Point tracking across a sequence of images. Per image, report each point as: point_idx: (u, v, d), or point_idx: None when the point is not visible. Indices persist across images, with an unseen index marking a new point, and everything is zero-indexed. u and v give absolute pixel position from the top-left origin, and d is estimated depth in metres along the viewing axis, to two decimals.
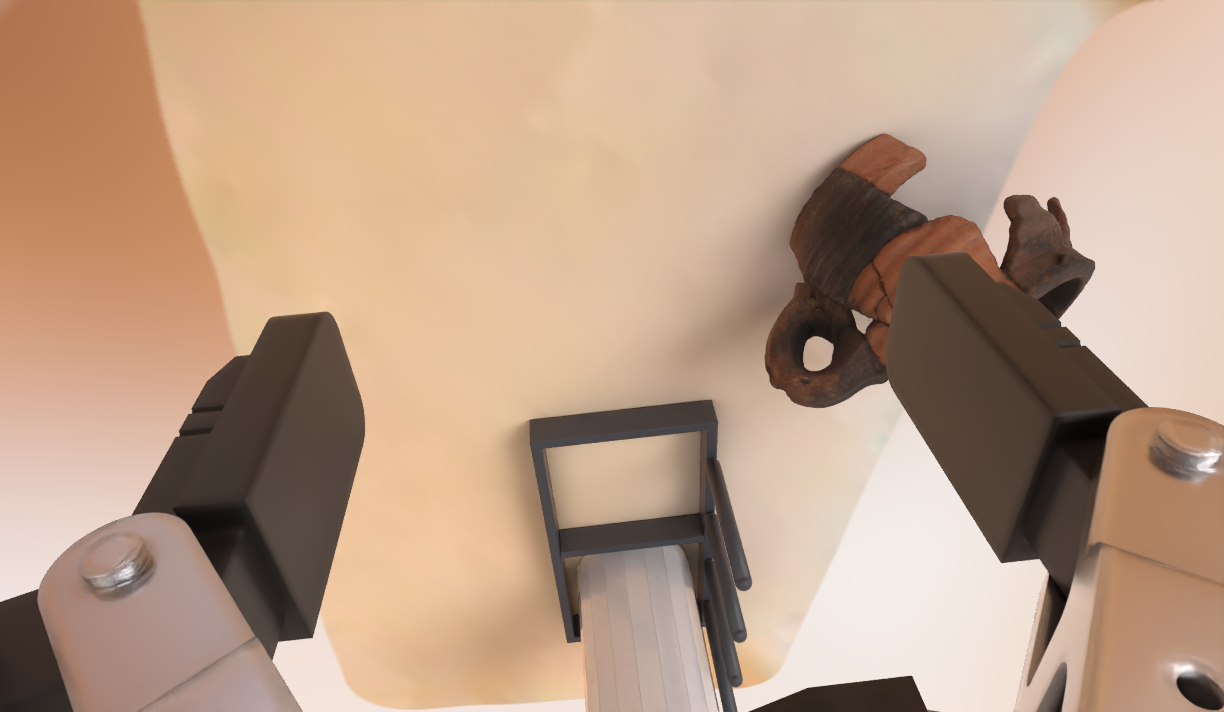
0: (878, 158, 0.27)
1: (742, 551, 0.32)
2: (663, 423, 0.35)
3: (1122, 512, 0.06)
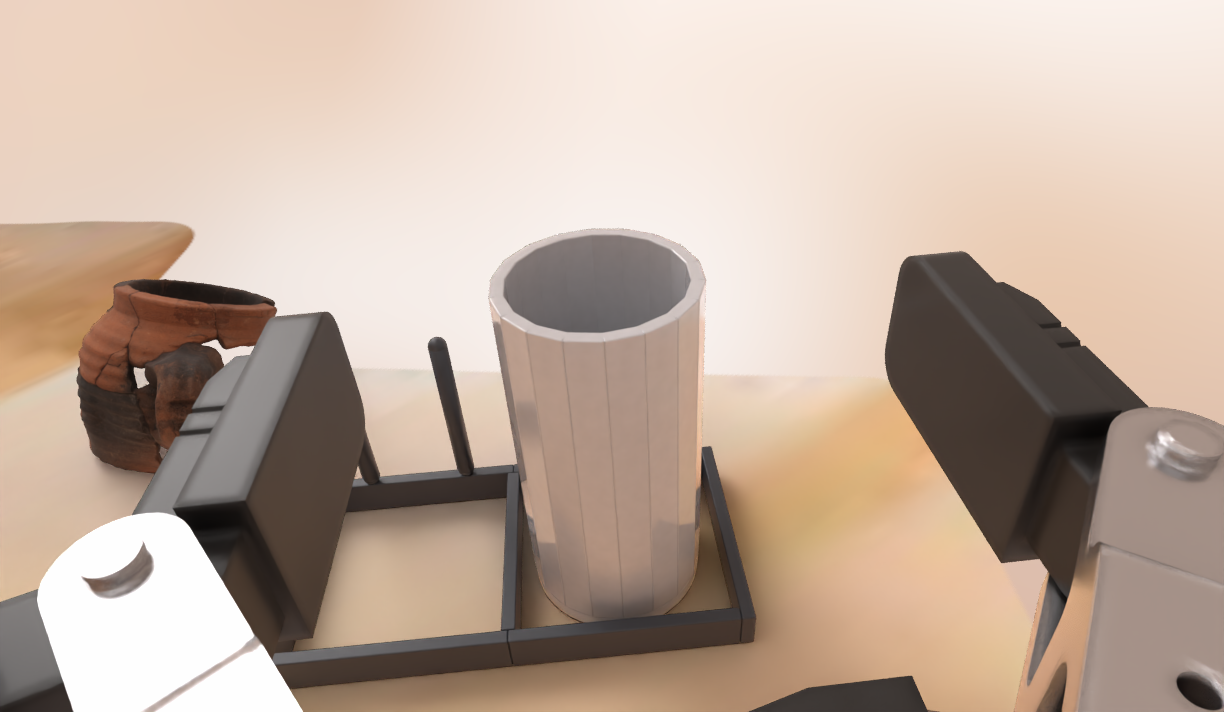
0: None
1: None
2: None
3: (1123, 512, 0.06)
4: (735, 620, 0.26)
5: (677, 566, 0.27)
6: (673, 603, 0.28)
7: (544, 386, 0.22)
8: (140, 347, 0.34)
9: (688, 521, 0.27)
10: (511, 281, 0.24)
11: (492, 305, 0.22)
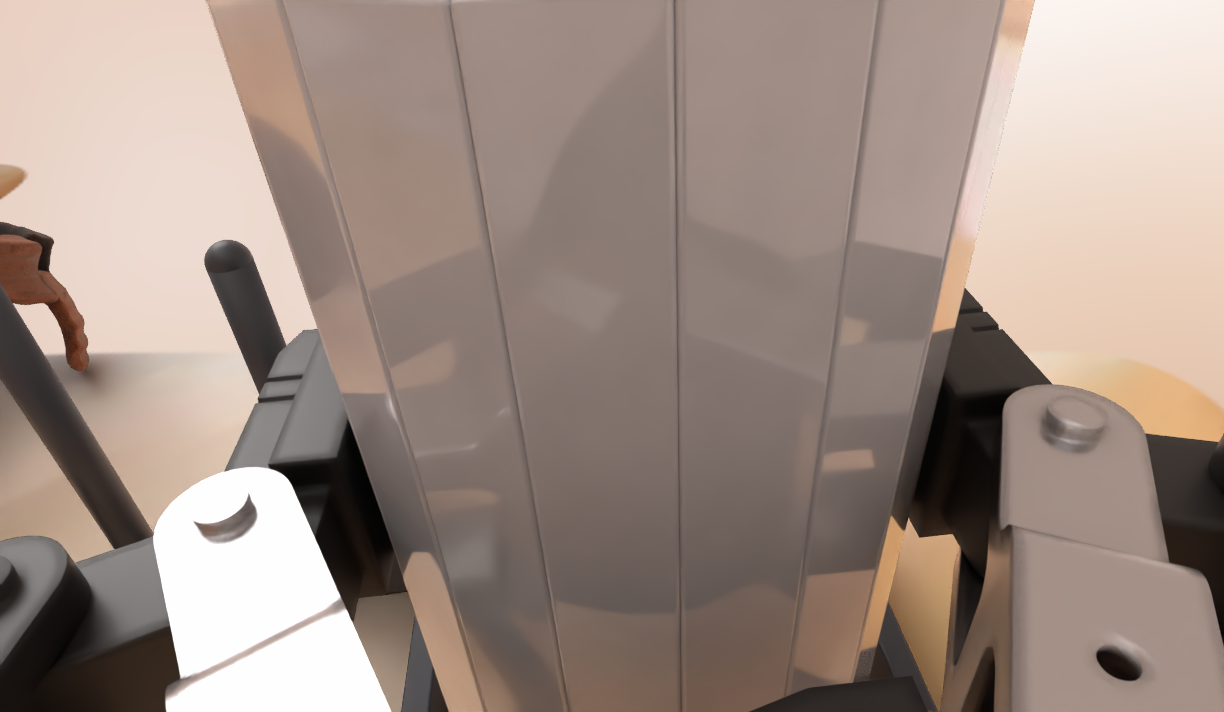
0: None
1: None
2: None
3: (1025, 491, 0.07)
4: None
5: None
6: None
7: (402, 284, 0.05)
8: None
9: None
10: None
11: None
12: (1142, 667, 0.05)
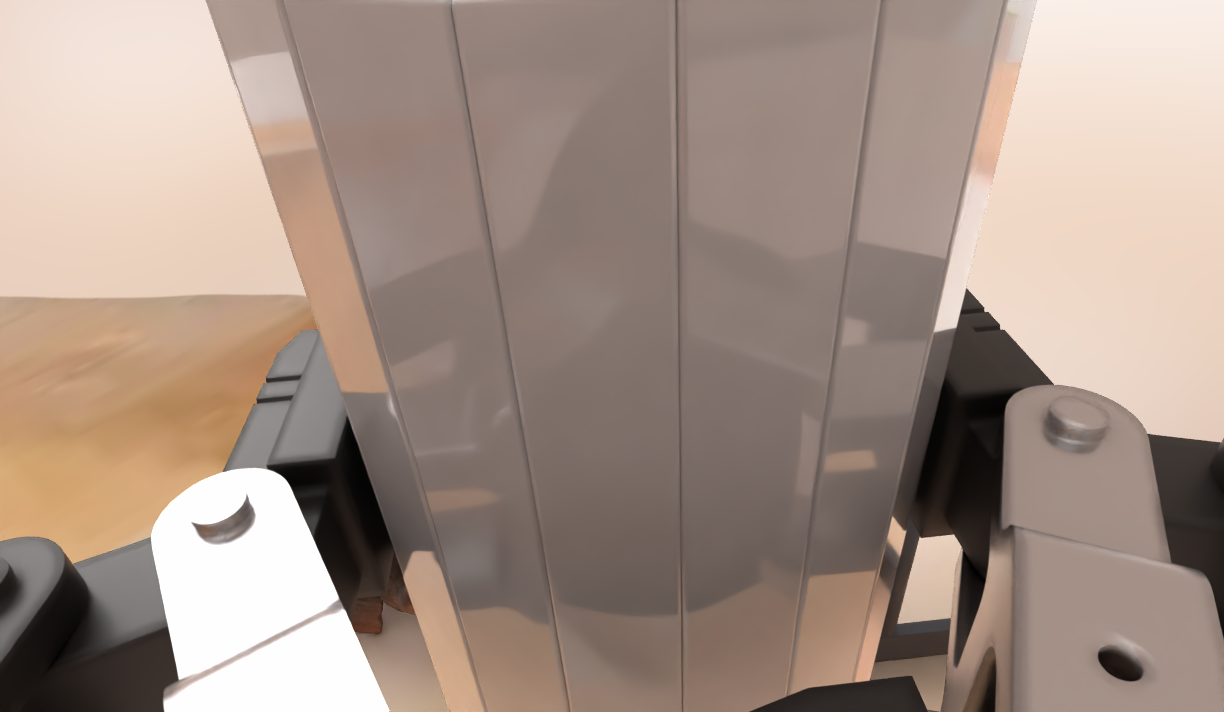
0: None
1: None
2: None
3: (1027, 492, 0.07)
4: None
5: None
6: None
7: (403, 285, 0.05)
8: None
9: None
10: None
11: None
12: (1145, 667, 0.05)
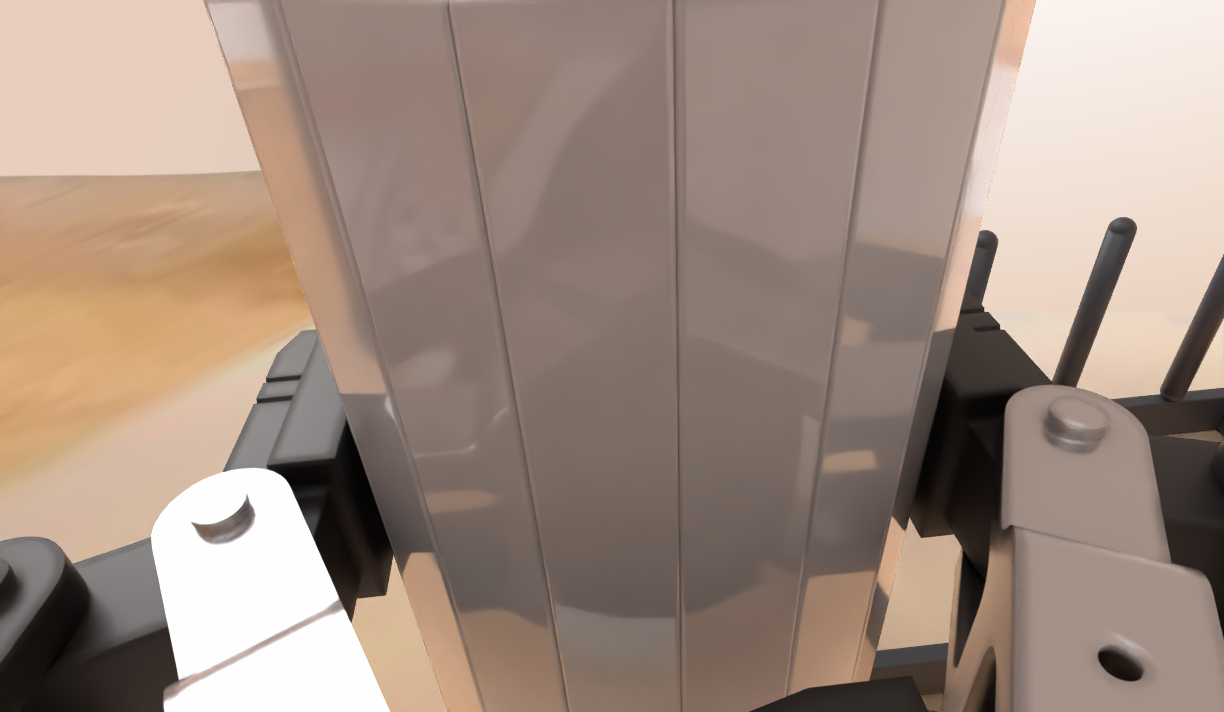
0: None
1: None
2: None
3: (1027, 491, 0.07)
4: None
5: None
6: None
7: (400, 285, 0.05)
8: None
9: None
10: None
11: None
12: (1145, 665, 0.05)
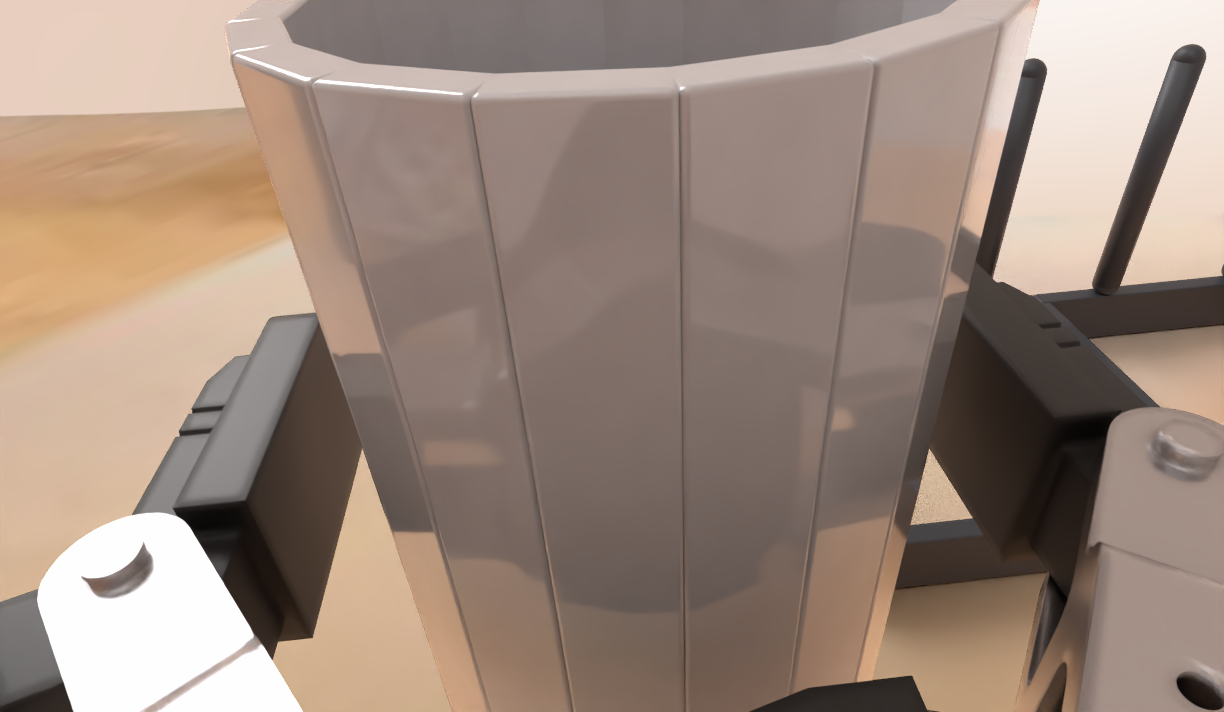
0: None
1: None
2: None
3: (1123, 513, 0.06)
4: None
5: None
6: None
7: (421, 344, 0.05)
8: None
9: None
10: (346, 25, 0.07)
11: (227, 39, 0.06)
12: None
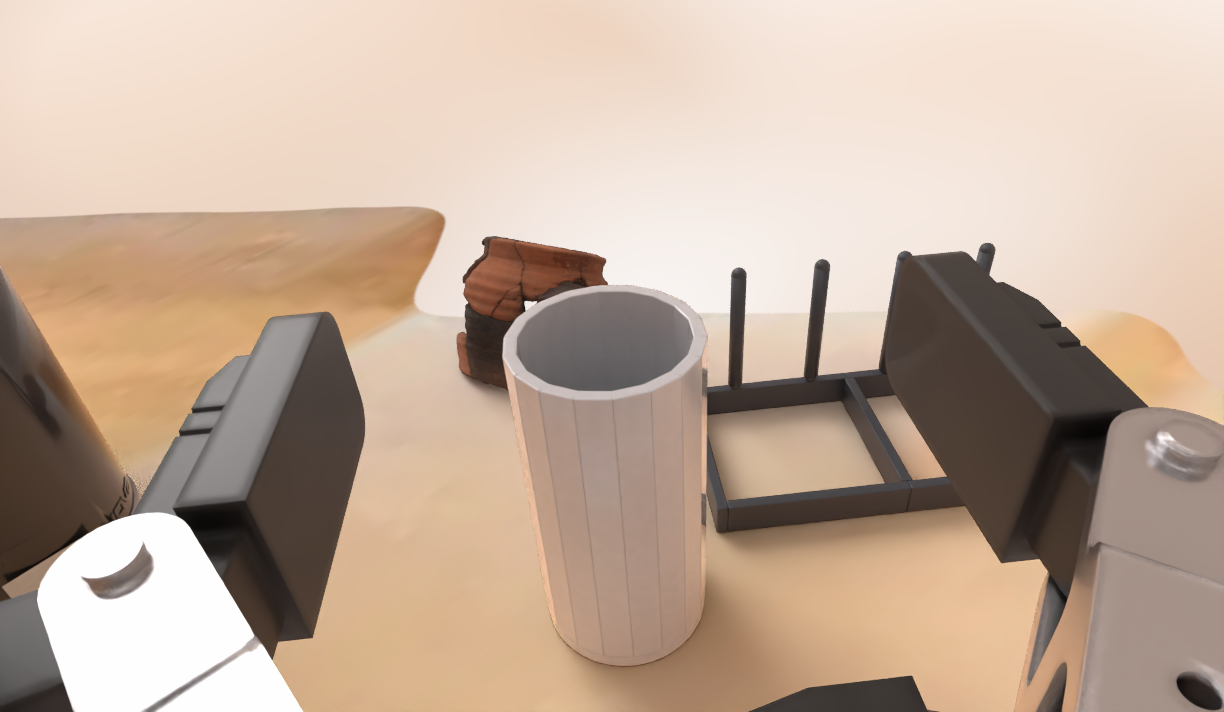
0: (461, 356, 0.44)
1: None
2: None
3: (1123, 512, 0.06)
4: None
5: (684, 606, 0.28)
6: (681, 641, 0.29)
7: (556, 440, 0.23)
8: (531, 284, 0.41)
9: (694, 562, 0.28)
10: (523, 338, 0.25)
11: (506, 364, 0.23)
12: None
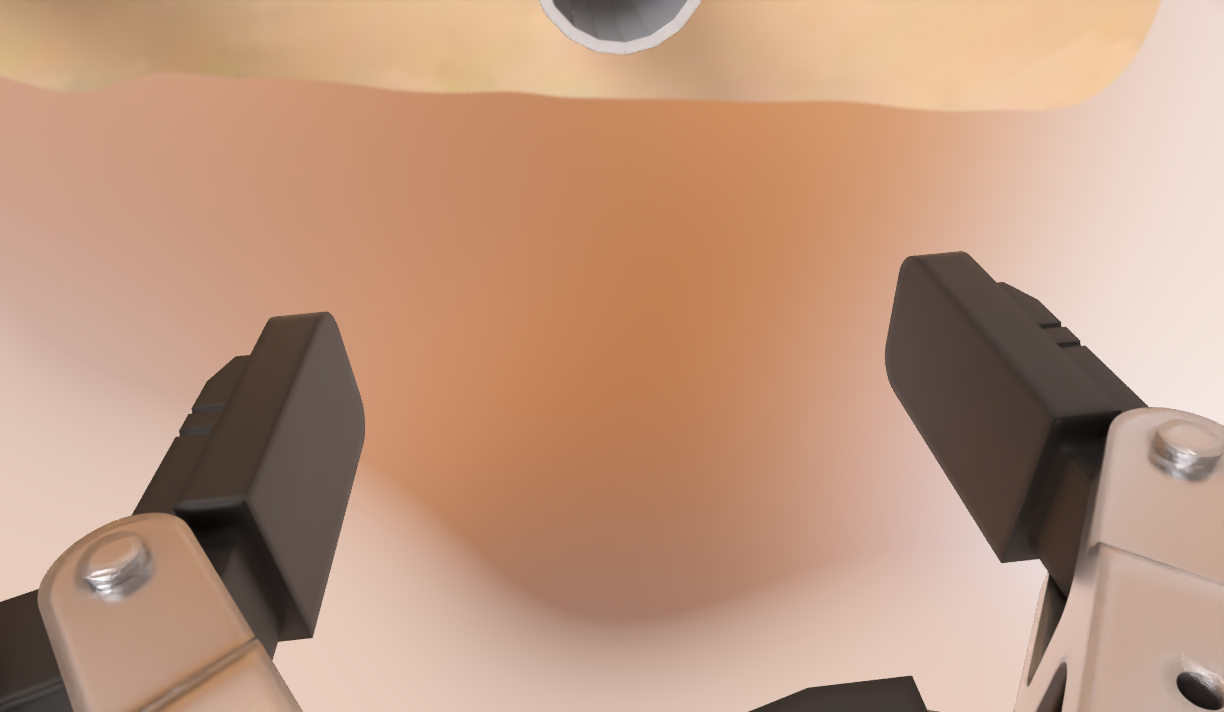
0: None
1: None
2: None
3: (1122, 512, 0.06)
4: None
5: None
6: None
7: None
8: None
9: None
10: None
11: None
12: None
